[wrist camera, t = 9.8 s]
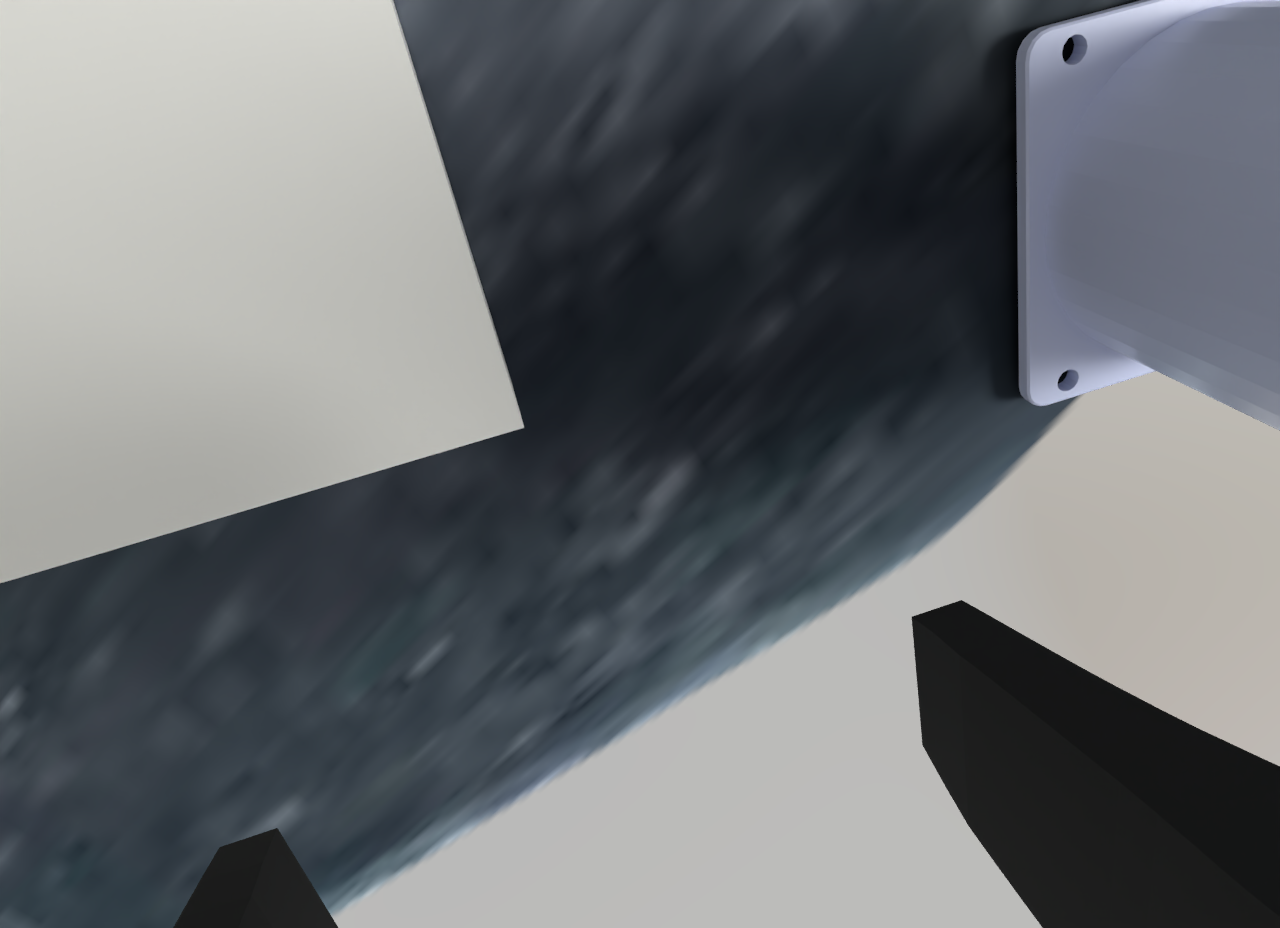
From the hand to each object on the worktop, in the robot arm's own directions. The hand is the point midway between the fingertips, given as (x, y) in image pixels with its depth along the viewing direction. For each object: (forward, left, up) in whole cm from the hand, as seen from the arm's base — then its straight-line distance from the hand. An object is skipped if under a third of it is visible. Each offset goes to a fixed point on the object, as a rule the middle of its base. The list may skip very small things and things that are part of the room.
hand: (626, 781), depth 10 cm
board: (+5, -6, -10) cm, 13 cm away
